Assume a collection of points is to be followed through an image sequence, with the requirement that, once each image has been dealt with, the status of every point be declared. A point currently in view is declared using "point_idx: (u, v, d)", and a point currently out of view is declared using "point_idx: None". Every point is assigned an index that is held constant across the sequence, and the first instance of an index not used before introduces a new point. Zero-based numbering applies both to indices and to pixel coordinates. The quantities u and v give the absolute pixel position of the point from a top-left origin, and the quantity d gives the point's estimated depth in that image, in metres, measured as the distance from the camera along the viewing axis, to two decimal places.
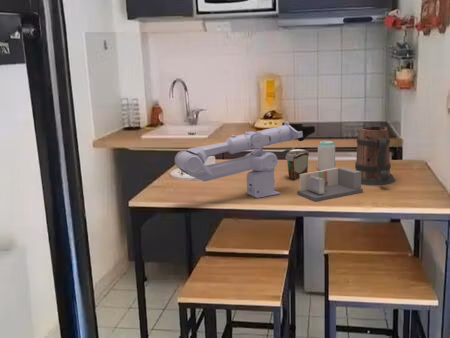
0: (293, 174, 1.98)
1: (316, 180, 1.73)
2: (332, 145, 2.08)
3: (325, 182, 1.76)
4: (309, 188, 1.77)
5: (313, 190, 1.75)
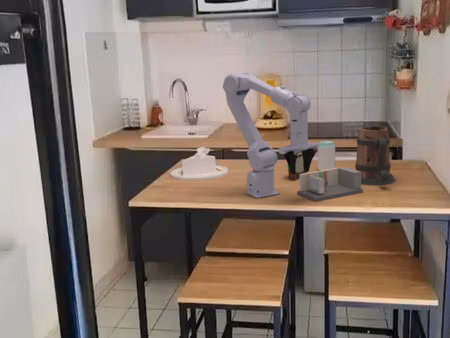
0: (293, 174, 1.98)
1: (316, 180, 1.73)
2: (332, 145, 2.08)
3: (325, 182, 1.76)
4: (309, 188, 1.77)
5: (313, 190, 1.75)
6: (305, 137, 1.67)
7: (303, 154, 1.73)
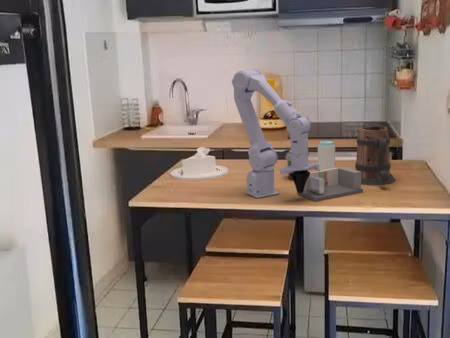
0: None
1: (316, 180, 1.73)
2: (332, 145, 2.08)
3: (325, 182, 1.76)
4: (309, 188, 1.77)
5: (313, 190, 1.75)
6: (305, 158, 1.68)
7: None
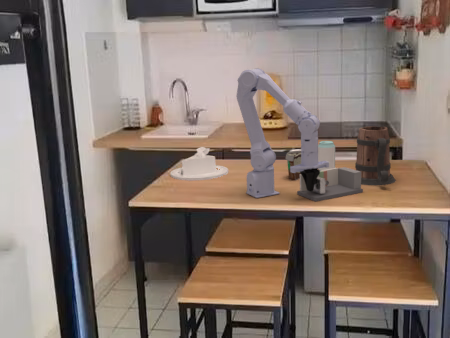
0: (293, 174, 1.98)
1: (317, 180, 1.73)
2: (332, 145, 2.08)
3: (326, 182, 1.76)
4: None
5: (314, 190, 1.75)
6: (316, 156, 1.70)
7: None
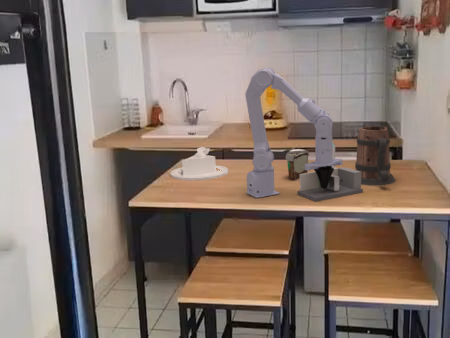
0: (293, 174, 1.98)
1: (331, 177, 1.75)
2: (332, 145, 2.08)
3: (340, 179, 1.79)
4: None
5: (328, 187, 1.78)
6: (330, 154, 1.72)
7: None
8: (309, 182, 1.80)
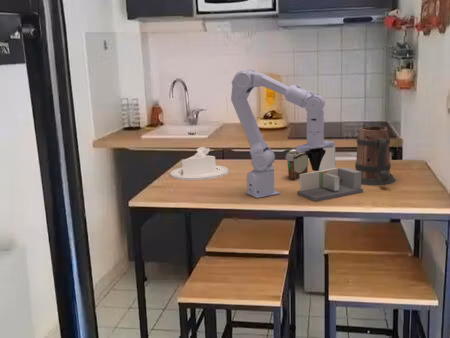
0: (293, 174, 1.98)
1: (331, 177, 1.75)
2: None
3: (340, 179, 1.79)
4: (324, 185, 1.80)
5: (328, 187, 1.78)
6: (321, 136, 1.69)
7: None
8: (309, 182, 1.80)
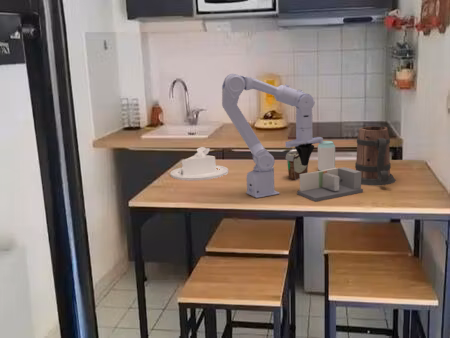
0: (293, 174, 1.98)
1: (331, 177, 1.75)
2: (332, 145, 2.08)
3: (340, 179, 1.79)
4: (324, 185, 1.80)
5: (328, 187, 1.78)
6: (310, 132, 1.77)
7: None
8: (309, 182, 1.80)
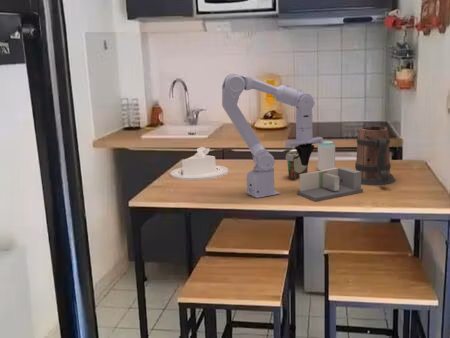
0: (293, 174, 1.98)
1: (331, 177, 1.75)
2: (332, 145, 2.08)
3: (340, 179, 1.79)
4: (324, 185, 1.80)
5: (328, 187, 1.78)
6: (310, 132, 1.77)
7: None
8: (309, 182, 1.80)
